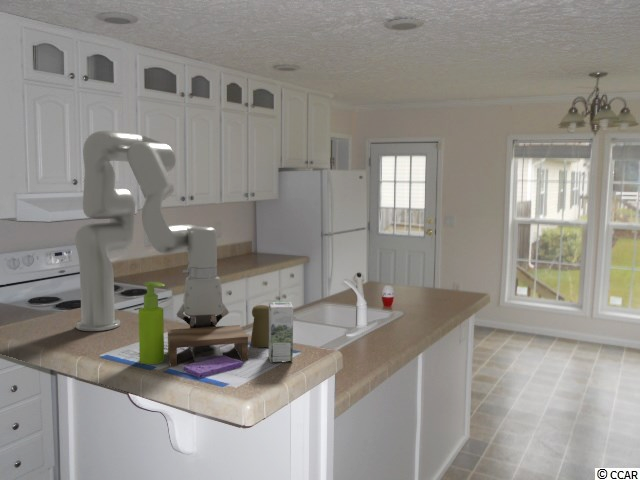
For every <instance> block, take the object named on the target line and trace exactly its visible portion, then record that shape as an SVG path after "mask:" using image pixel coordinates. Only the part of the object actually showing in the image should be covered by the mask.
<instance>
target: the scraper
mask: <svg viewBox="0 0 640 480" xmlns="http://www.w3.org/2000/svg"><path fill="white" fill-rule="evenodd" d="M195 326H196V328H202V327H211V315H209V316H196V318H195ZM189 350H190V352H191V355H192V358H193V361H194V363H197V362H203V361H206V360H211V359H214V358H219V357H222V356H224V354H223V352H222V351H221V349H220V345H209V346H196V347H189Z"/></svg>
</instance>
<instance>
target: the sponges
mask: <svg viewBox="0 0 640 480" xmlns="http://www.w3.org/2000/svg"><path fill="white" fill-rule="evenodd" d="M243 364H244V363H243V360H239V359H236V358H232V357H230V356H227V355H223V356H222V357H219V358H214V359H211V360H206V361H203V362H193V363H189V364H185V365H182V367H183V369H182V371H183V372H185V373H187V374H189V375H192V376H193V377H196V378H199V379H202V378H206V377H208V376H213V375H216V374H219V373H224V372H227V371H230V370H234V369H238V368H241V367H242V366H243Z"/></svg>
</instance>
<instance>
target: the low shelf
mask: <svg viewBox="0 0 640 480" xmlns="http://www.w3.org/2000/svg"><path fill="white" fill-rule="evenodd" d="M209 345H218V346H220V345H221V346H222V345H234V346H233V348H234V349H235V350H236V352H237V355H238V356H239V358H240V359H241V361H248V360H249V336H248V335H247V334H246V332H245V331H244V329H243V328H242V326H241V325H240V324H238V325H237V324H236V325H235V324H234V325H233V324H232V325H219V326H218V325H216V327H202V328H190V327H189V328H188V327H187V328H176V329H175V328H174V329H167V353H168V354H167V355H168V359H169V365H170V367H176V366H178V360H177V359H178V358H177V357H178V354H177V353H178V349H181V348H190V347H196V346H209Z"/></svg>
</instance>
